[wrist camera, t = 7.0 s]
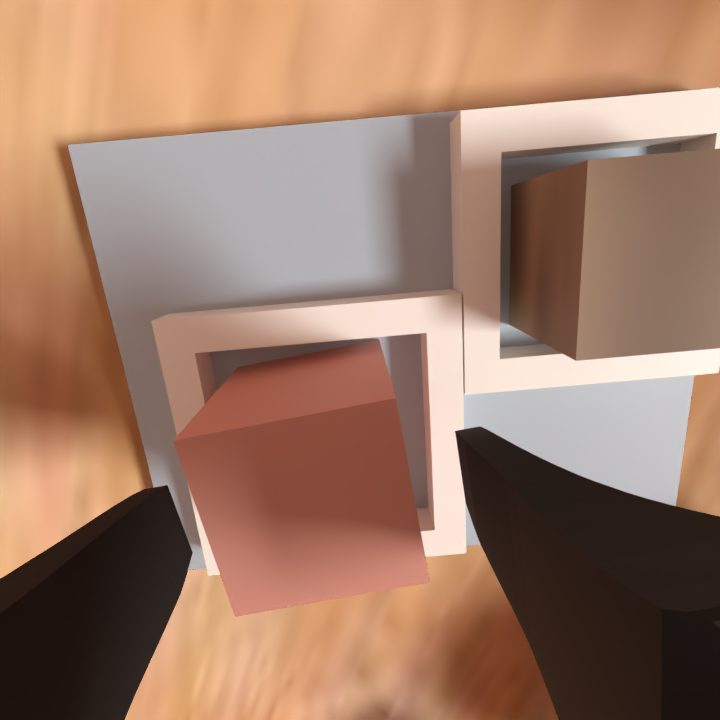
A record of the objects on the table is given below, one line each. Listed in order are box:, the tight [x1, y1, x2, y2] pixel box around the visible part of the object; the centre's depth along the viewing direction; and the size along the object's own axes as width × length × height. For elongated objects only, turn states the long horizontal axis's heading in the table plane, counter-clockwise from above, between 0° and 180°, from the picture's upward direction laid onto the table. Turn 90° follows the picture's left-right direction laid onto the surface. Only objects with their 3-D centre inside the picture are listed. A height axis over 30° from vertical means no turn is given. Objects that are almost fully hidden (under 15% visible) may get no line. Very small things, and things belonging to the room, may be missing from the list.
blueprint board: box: [68, 87, 720, 575], centre depth 13 cm, size 18×14×2 cm
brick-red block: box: [173, 339, 430, 617], centre depth 11 cm, size 4×4×5 cm
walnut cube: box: [509, 149, 720, 361], centre depth 11 cm, size 4×4×4 cm
